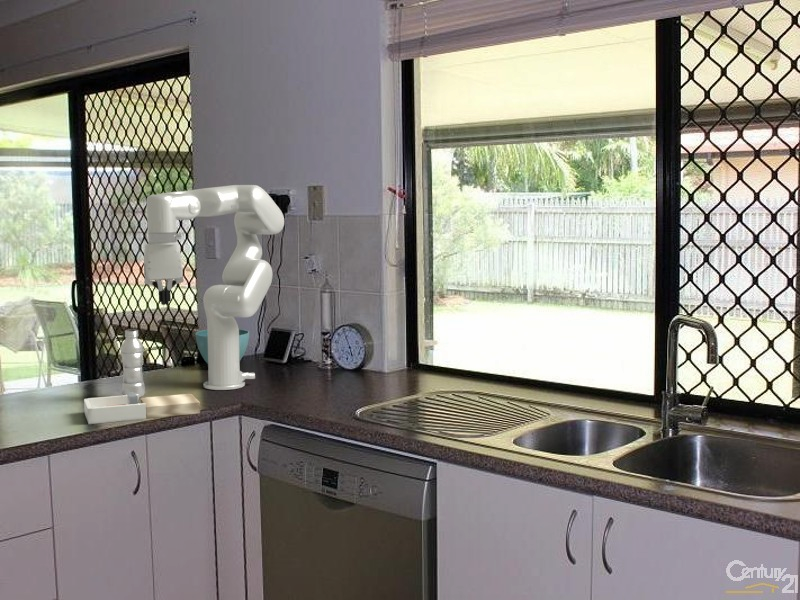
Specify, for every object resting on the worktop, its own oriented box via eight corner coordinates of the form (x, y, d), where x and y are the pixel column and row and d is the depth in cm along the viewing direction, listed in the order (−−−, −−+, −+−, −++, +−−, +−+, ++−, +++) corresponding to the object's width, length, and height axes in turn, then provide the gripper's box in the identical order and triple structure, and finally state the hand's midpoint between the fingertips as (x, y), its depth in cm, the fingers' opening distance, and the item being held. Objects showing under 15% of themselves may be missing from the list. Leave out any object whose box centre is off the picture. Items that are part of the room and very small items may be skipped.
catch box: (139, 408, 244) (138, 394, 243) (146, 418, 232) (145, 403, 231) (84, 413, 238) (83, 398, 237) (88, 424, 226) (88, 408, 225)
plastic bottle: (150, 396, 258) (148, 329, 256) (135, 401, 252) (133, 332, 250) (131, 395, 260) (129, 328, 258) (117, 399, 254) (114, 331, 252)
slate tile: (134, 392, 239) (127, 393, 238) (137, 396, 234) (129, 396, 233) (135, 410, 239) (127, 411, 239) (138, 414, 235) (130, 415, 234)
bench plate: (191, 403, 249) (191, 393, 249) (200, 413, 238) (199, 402, 238) (140, 408, 243) (140, 397, 243) (147, 418, 232) (146, 407, 232)
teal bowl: (252, 370, 299) (252, 335, 297) (197, 373, 294) (197, 337, 292) (246, 361, 316) (246, 327, 314) (194, 363, 311) (194, 329, 309)
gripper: (186, 237, 251) (189, 301, 253) (132, 239, 245) (135, 304, 247) (191, 238, 244) (194, 304, 247) (136, 240, 238) (139, 307, 240)
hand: (164, 304), depth 247 cm, fingers closed
